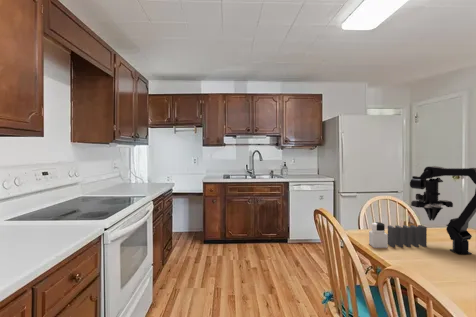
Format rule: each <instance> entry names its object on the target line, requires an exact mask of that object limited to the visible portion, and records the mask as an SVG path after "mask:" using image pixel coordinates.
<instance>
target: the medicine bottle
mask: <svg viewBox="0 0 476 317" xmlns="http://www.w3.org/2000/svg"><path fill="white" fill-rule="evenodd" d="M385 227H386V225H385V223H383V222H379V221H378V222H377V221H376V222H372V223H371V230H369V231H368V244H369V245H370V246H371V247H372V248H373V249H374V248H375V249H376V248H377V249H387V248H388V246H389V245H388V233H386V232H385Z"/></svg>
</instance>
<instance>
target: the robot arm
mask: <svg viewBox="0 0 476 317" xmlns="http://www.w3.org/2000/svg"><path fill="white" fill-rule="evenodd" d="M444 176H445V177H446V176H447V177H449V176H450V177H451V176H452V177H469V178H470V180H471V181H472V183H474V184H475V185H476V167H469V168H468V167H467V168H466V167H465V168H464V167H463V168H462V167H461V168H459V167H457V168H456V167H455V168H454V167H453V168H452V167H451V168H450V167H443V166H436V165H433V166H430V165H429V166H426V167H425V168H424V169H423V172H422V173H421V175H420V176H418V175H412V177H411V179H410V182H409V186H410V188H411V189H416V190H425V191H424V192H423V194H421V193H416V194H415V200H412V201H411V204H410V206H412V207H413V208H414V207H415V208H419V209H420V208H421V209H424V211H425V212H426V215H427V217H428V220H429V221H435V220H436V218H437V216H438V215H439V213H440V212H441V210H442V209H444V208H443V207H442V206H445V207H446V208H454V203H453V201H451V200H446V199H444V200H443V199H441V200H439V196H441V193H440V192H439V183H443V182H444V180H443V179H441V177H444ZM475 214H476V188H475V190H474V194H473V196H472V197H471V199H470V201H469V202H468V203H467V205H466V206H465V207H464V209H463V211H462V212H461V213H460V215H459V216H458V217H455V218H452V219H449V222H448V223H447V224H446V225H445V226H447V227H446V233H447V234H448V236H449V239H450V240H451V241H452V248H449V251H450V252H452V253H455V254H457V255H473V254H472V253H473V252H470V251H469V250H470V249H469V244H470V243H469V240H471V239H472V237H473V236H472V234H471V233H470V232H469V231H468V229H469V222H470V221H471V220H472V218H473V217H474V215H475Z"/></svg>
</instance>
